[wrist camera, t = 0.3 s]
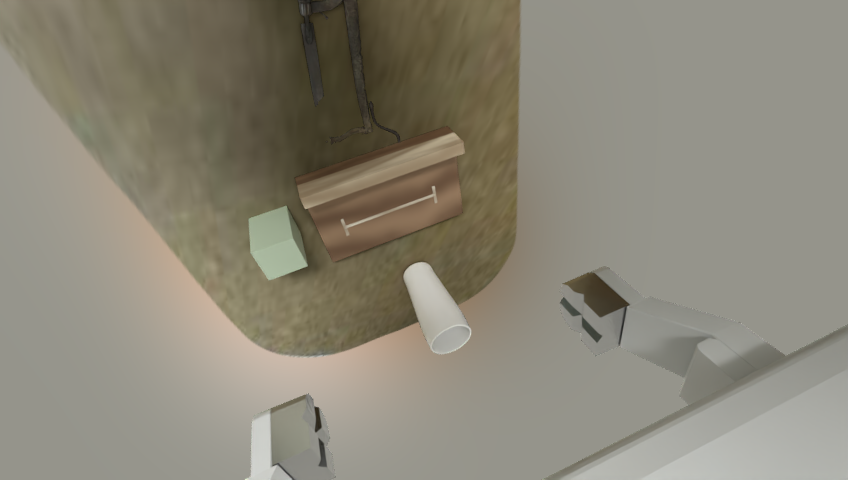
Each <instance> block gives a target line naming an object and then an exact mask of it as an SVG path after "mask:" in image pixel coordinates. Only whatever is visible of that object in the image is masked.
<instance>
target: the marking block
mask: <svg viewBox="0 0 848 480" xmlns="http://www.w3.org/2000/svg"><path fill="white" fill-rule="evenodd" d="M249 234H250V249H251V254H252V256H253V257H254V259H255V260H256V262H257V263H258V265H259V266H260V268H261V269H262V271H263V272H264V274H265V275H266V277H267V278H268V280H272V279H275V278H277V277H280V276H283V275H285V274H288V273H291V272H293V271H296V270H299V269H301V268H304V267H307V266H308V264H307V259H306V255H305V250H304V246H303V241H302V237H301V233H300V231H299V229H298V227H297V225H296V223H295V221H294V219H293V217H292V215H291V213H290V211H289V209H288V208H287V206H284V207H281V208H278V209H275V210H272V211H269V212H266V213H264V214H261V215H258V216H255V217H252V218H249Z"/></svg>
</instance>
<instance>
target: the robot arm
mask: <svg viewBox="0 0 848 480" xmlns="http://www.w3.org/2000/svg"><path fill="white" fill-rule="evenodd" d="M560 293H561V294H562V295H563V296H564V297H563V299H562V300H561V302H560V311H561V314H562V316H563V318H564V320H565V321H566V323H567V324H568V325H569V327H570V328H571V329H572V330H574V331H577V332H579V333H581V341H582V342H583V343H584V344H585V345H586V346H587V347H588V348H589V349H590V351H591V352H592V353H593V354H594V355H595V356H597V355H600V354H602V353H604V352H607V351H609V350H611V349H614V348H616V347H618V346H620V348H622V349H625V350H627V351H629V352H631V353H633V354H635V355H637V356H639V357H641V358H643V359H646V360H648V361H650V362H652V363H654V364H656V365H658V366H661V367H662V368H665V369H667V370H669V371H671V372H673V373H675V374H677V375H680V376H682V377H684V381H683V384H682V386H681V389H680V397H681V398H682V399H683V400H684V401H685V402H686V403H687V404H688V406H686V407H684V408H682V409H680V410H679V411H676V412H674V413H672V414H671V415H668V416H666V417H664V418H663V419H661V420H659V421H657V422H655V423H653V424H651V425H649V426H647V427H645V428H643V429H641V430H639V431H637V432H635V433H633V434H631V435H629V436H627V437H625V438H623V439H621V440H619V441H617V442H615V443H613V444H611V445H610V446H607V447H606V448H603V449H602V450H600V451H598V452H596V453H594V454H592V455H590V456H588V457H586V458H584V459H582V460H580V461H578V462H576V463H574V464H572V465H570V466H568V467H566V468H564V469H562V470H560V471H558V472H556V473H554V474H552V475H550V476H548V477H547V478H544V479H543V480H848V324H847V325H845V326H843V327H841V328H840V329H838V330H836V331H834V332H832V333H830V334H828V335H826V336H824V337H822V338H820V339H818V340H816V341H814V342H812V343H810V344H808V345H806V346H804V347H802V348H800V349H798V350H796V351H794V352H792V353H790V354H788V355H786V356H785V355H784V354H783V353H781V352H780V351H779V350H777V349H776V348H774V347H773V346H772V345H770V344H769V343H768V342H766V341H765V340H763V339H762V338H761V337H759V336H758V335H756V334H755V333H753V332H752V331H751V330H750V329H748V328H747V327H745V326H744V325H743V324H741V323H740V322H737V321H734V320H730V319H727V318H723V317H720V316H716V315H713V314H709V313H706V312H702V311H698V310H695V309H692V308H688V307H685V306H681V305H678V304H674V303H671V302H667V301H664V300H661V299H657V298H654V297H647V298H645V297H644V296H643V295H642V294H640V293H639V292H638V291H637V290H635V289H634V288H633V287H632V286H631V285H629V284H628V283H627V282H626V281H625V280H623V279H622V278H621V277H619V276H618V275H617V274H616V273H615V272H614V271H612V270H611V269H610V268H609V267H606V266H603V267H601V268H598V269H596V270H594V271H591V272H588V273H586V274H584V275H581V276H580V277H577V278H575V279H573V280H570V281H568V282H566V283H563V284H562V285H561V287H560ZM329 439H330V436H329V431H328V426H327V423H326V420H325V418H324V415H323V413H322V411H321V410H320V408H319V407H315V406H314V402H313V399H312V397H311V396H310V395H309V394H306V395H303V396H301V397H298V398H296V399H293V400H291V401H288V402H286V403H283V404H281V405H278V406H276V407H273V408H271V409H268V410H266V411H264V412H261V413H259V414H257V415H254V417H253V420H252V434H251V476H250V477H248V478H246V479H245V480H331V479H333V478H335V477H336V476H335V469H334V463H333V456H332V453H331V452H330V451H329V449H328V448H327V444H328V442H329Z"/></svg>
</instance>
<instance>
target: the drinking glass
mask: <svg viewBox="0 0 848 480" xmlns="http://www.w3.org/2000/svg"><path fill="white" fill-rule="evenodd" d="M403 279H404V282H405V285H406V287H407V289H408V292H409V295H410V298H411V301H412V304H413V307H414V310H415V313H416V316H417V319H418V322H419V324H420V327H421V330H422V332H423V334H424V337H425V339H426V341H427V343H428V345H429V347H430V348H431V350H432V351H433V352H434V353H437V354H446V353H450V352H453V351H455V350H457V349H459V348H460V347H462V346H463V345H464V344H465V343H466V342H467V341H468V339H469V338H470V336H471V329H470V327H469V325H468V323H467V321H466V319H465V317H464V315H463V313H462V312H461V310H460V308H459V307H458V305H457V304H456V302H455V301H454V300H453V298H452V297H451V295H450V294H449V293H448V291H447V290H446V288H445V287H444V286H443V284H442V283H441V281H440V280H439V278H438V277H437V276H436V274H435V272H434V271H433V269H432V267H431V266H430V265H429V264H428V263H425V262H418V263H414V264H412V265H411V266H409V267H408V268H407V269H406V271H405V272H404V275H403Z"/></svg>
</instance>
